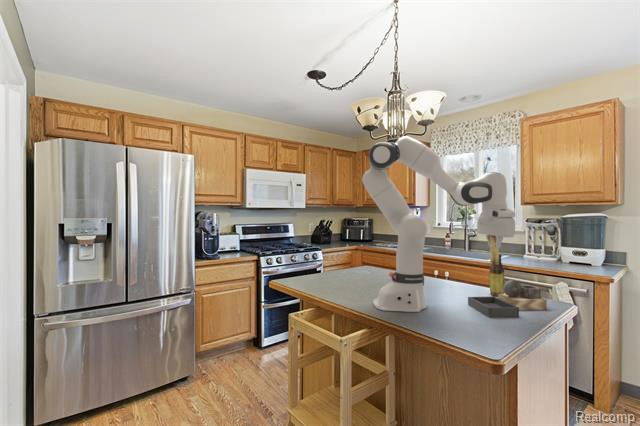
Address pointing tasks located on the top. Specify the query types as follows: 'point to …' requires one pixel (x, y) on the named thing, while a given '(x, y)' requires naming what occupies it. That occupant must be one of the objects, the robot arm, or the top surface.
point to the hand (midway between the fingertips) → (494, 246)
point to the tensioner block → (523, 296)
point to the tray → (493, 307)
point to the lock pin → (494, 251)
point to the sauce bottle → (497, 278)
